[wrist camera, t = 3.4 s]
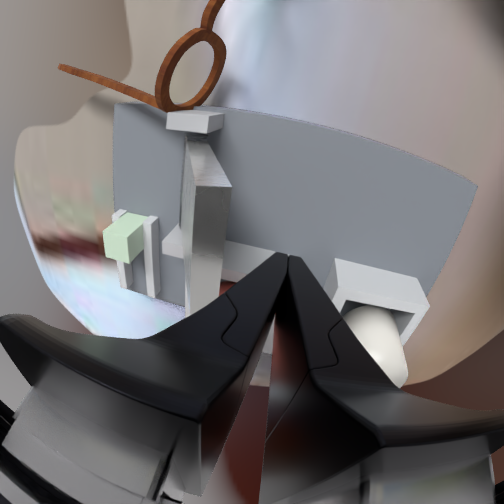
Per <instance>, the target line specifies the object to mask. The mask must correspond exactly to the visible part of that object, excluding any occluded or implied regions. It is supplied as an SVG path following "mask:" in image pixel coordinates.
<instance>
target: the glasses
mask: <svg viewBox="0 0 504 504" xmlns="http://www.w3.org/2000/svg"><path fill="white" fill-rule="evenodd" d="M224 2H225V0H210V1H209V2H208V4H207V6H206V8H205V10H204V12H203V15H202V20H201V27H200V28H195V29H193V30H191V31H189V32H188V33H186V34H185V35H184V36H183V37H181V38H180V39H179V40H178V41H177V42H176V43H175V44H174V45H173V47H172V48H171V49H170V51H169V52H168V54H167V55H166V57H165V59H164V61H163V63H162V65H161V67H160V70H159V73H158V75H157V80H156V85H155V96H153V95H150V94H148V93H145V92H143V91H141V90H138V89H136V88H133V87H130V86H128V85H125V84H123V83H120V82H117V81H114V80H112V79H109V78H106V77H103V76H101V75H97V74H94V73H91V72H88V71H84V70H81V69H78V68H75V67H71V66H68V65H65V64H59V66H58V69H60V70H62V71H65V72H67V73H70V74H72V75H76V76H79V77H82V78H85V79H88V80H91V81H93V82H96V83H99V84H101V85H104V86H106V87H109V88H111V89H114V90H116V91H119V92H121V93H123V94H126V95H128V96H131V97H133V98H135V99H138V100H140V101H142V102H144V103H147V104H149V105H151V106H153V107H156V108H158V109H160V110H162V111H163V112H165V113H168V112H174V111H182V110H193V108H194V106H201V105H202V104H203V103H204V101H205V100H206V99H207V98H208V96H209V95H210V94H211V92H212V91H213V89H214V87H215V85H216V84H217V82H218V80H219V77H220V75H221V73H222V70H223V67H224V64H225V59H226V46H225V44H224V42H223V40H222V39H221V38H220V37H219V36H218V35H217V34H216V33H214V32H213V31H212V28H213V24H214V21H215V18H216V16H217V14H218V12H219V10H220V8H221V7H222V5H223V3H224ZM200 41H207V42H208V43H209V44H210V45H211V46H212V48H213V49H214V62H213V66H212V70H211V72H210V75H209V77H208V79H207V81H206V83H205V84H204V86H203V87H202V89H201V90H200V91H199V93H198V94H197V95H196V96H195V97H194V98H192V99H191V100H190V101H188V102H186V103H183V104H174V103H173V102H172V101H171V99H170V95H169V86H170V81H171V77H172V74H173V71H174V69H175V67H176V65H177V63H178V61H179V60H180V58H181V57H182V55H183V54H184V53H185V52H186V51H187V50H188V49H189V48H190V47H191V46H193V45H194V44H196V43H198V42H200Z"/></svg>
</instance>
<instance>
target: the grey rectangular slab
mask: <svg viewBox="0 0 504 504" xmlns="http://www.w3.org/2000/svg"><path fill="white" fill-rule="evenodd" d="M208 138H209V136H208V135H206V134H200V133H187V134H185V138H184V149H183V161H182V175H181V190H180V209H179V228H180V229H181V234H182V246H183V258H184V268H185V278H186V287H187V296H188V304H189V312H190V314H193V313H195V312H197V311H198V310H200V309H202V308H203V307H205V306H206V305H208V304H209V303H211V302H212V301H213V300H215V299H216V298H217V297H219V289H220V280H221V272H222V263H223V255H224V247H225V239H226V231H227V223H228V215H229V208H230V200H231V193H232V185H231V184H230V182H229V180H228V178H227V176H226V174H225V173H224V171H223V169H222V167H221V165H220V163H219V162H218V160H217V158H216V156H215V154H214V153H213V151H212V149H211V147H210V145H209V144H208Z"/></svg>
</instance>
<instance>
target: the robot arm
mask: <svg viewBox="0 0 504 504" xmlns="http://www.w3.org/2000/svg"><path fill="white" fill-rule="evenodd" d="M274 317H275V320H274ZM273 320H274V334H273V349H272V364H271V378H270V392H269V405H268V416H267V428H266V438H265V448H264V459H263V468H262V479H261V488H260V496H259V504H504V481H502V482H500V483H498V484H496V485H495V483H494V474H493V467H492V461H491V454H492V453H494V452H495V451H497V450H498V449H499V448H501V447H502V446H504V410H502V409H497V410H491V411H479V410H470V409H465V408H460V407H456V406H452V405H448V404H444V403H440V402H436V401H432V400H428V399H425V398H421V397H418V396H414V395H411V394H408V393H406V392H404V391H402V390H401V389H400V388H398V387H397V386H396V385H395V384H394V383H393V382H392V381H391V380H390V378H389V377H388V376H387V375H386V373H385V372H384V371H383V370H382V369H381V367H380V366H379V365H378V364H377V362H376V361H375V360H374V359H373V358H372V356H371V355H370V354H369V353H368V351H367V350H366V349H365V348H364V346H363V345H362V344H361V343H360V341H359V340H358V339H357V337H356V336H355V334H354V333H353V332H352V330H351V329H350V327H349V326H348V324H347V323H346V321H345V320H344V319H343V317H342V316H341V314H340V313H339V311H338V310H337V308H336V307H335V305H334V304H333V302H332V301H331V299H330V298H329V296H328V295H327V293H326V292H325V291H324V289H323V288H322V286H321V285H320V283H319V282H318V280H317V279H316V278H315V276H314V275H313V273H312V272H311V270H310V269H309V268H308V266H307V265H306V263H305V262H304V260H303V259H302V258H301V257H299V256H294V255H289V256H288V254H286V253H281V252H275V253H274V254H273V255H271V256H270V257H269V258H268V259H266V260H265V261H264V262H262V263H261V264H260V265H259V266H257V267H256V268H255V269H254V270H252V271H251V272H250V273H248V274H247V275H246V276H245V277H243V278H242V279H241V280H240V281H238V282H237V283H236V284H234V285H233V286H232V287H231V288H229V289H228V290H227V291H225V292H224V293H223V294H221V295H220V296H219V297H217V298H216V299H215V300H213V301H212V302H211V303H209V304H208V305H206V306H205V307H203V308H202V309H200V310H198V311H197V312H195V313H193V314H192V315H190V316H188V317H186V318H184V319H183V320H181V321H179V322H177V323H175V324H174V325H172V326H170V327H168V328H166V329H165V330H163V331H161V332H159V333H157V334H155V335H153V336H150V337H147V338H143V339H127V338H116V337H106V336H97V335H88V334H80V333H74V332H69V331H64V330H61V329H58V328H55V327H52V326H50V325H48V324H46V323H44V322H42V321H41V320H39V319H37V318H35V317H33V316H30V315H24V314H23V315H22V314H8V315H4V316H1V317H0V342H1V344H2V346H3V347H4V349H5V350H6V352H7V353H8V355H9V356H10V358H11V359H12V361H13V362H14V364H15V365H16V367H17V368H18V369H19V371H20V372H21V373H22V375H23V376H24V377H25V379H26V380H27V381H28V383H29V384H30V385H31V388H30V390H29V392H28V393H27V395H26V396H25V397H24V399H23V401H22V402H21V404H20V405H19V407H18V408H17V410H16V412H13V411H12V410H11V409H10V408H9V407H8V406H7V405H5V404H4V403H3V402H2V401H1V400H0V504H184V503H183V502H182V499H183V496H184V492H186V493H190V494H193V495H197V496H202V494H203V491H204V489H205V487H206V485H207V483H208V480H209V479H210V476H211V474H212V472H213V470H214V467H215V465H216V463H217V461H218V458H219V456H220V454H221V452H222V449H223V447H224V445H225V442H226V440H227V438H228V435H229V433H230V430H231V428H232V426H233V423H234V421H235V419H236V416H237V414H238V411H239V409H240V406H241V404H242V402H243V399H244V397H245V394H246V392H247V389H248V387H249V384H250V381H251V379H252V376H253V374H254V371H255V369H256V366H257V363H258V361H259V358H260V355H261V353H262V350H263V348H264V345H265V342H266V339H267V337H268V334H269V331H270V329H271V326H272V323H273Z"/></svg>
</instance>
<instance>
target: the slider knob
mask: <svg viewBox="0 0 504 504" xmlns="http://www.w3.org/2000/svg"><path fill="white" fill-rule="evenodd" d="M147 218H148V217H147V216H142V215H138V214H133V213H128V212H127V213H125V214H124V215H123V216H121V217H120V218H119V219H118V220H116V221H115V222H114V223H112V224H111V225H110V226H109V227H107V228H106V229H105V230H104V231H103V239H104V246H105V253H106V257H108V258H112V259H115V260H118V261H121V262H125V263H128V264H130V263H131V262H132V261H133V259H134V258H135V257H136V256H137V255H138V254H139V253H140V252H141V251H142V250H143V249H144V242H143V221H144V220H146V219H147Z"/></svg>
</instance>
